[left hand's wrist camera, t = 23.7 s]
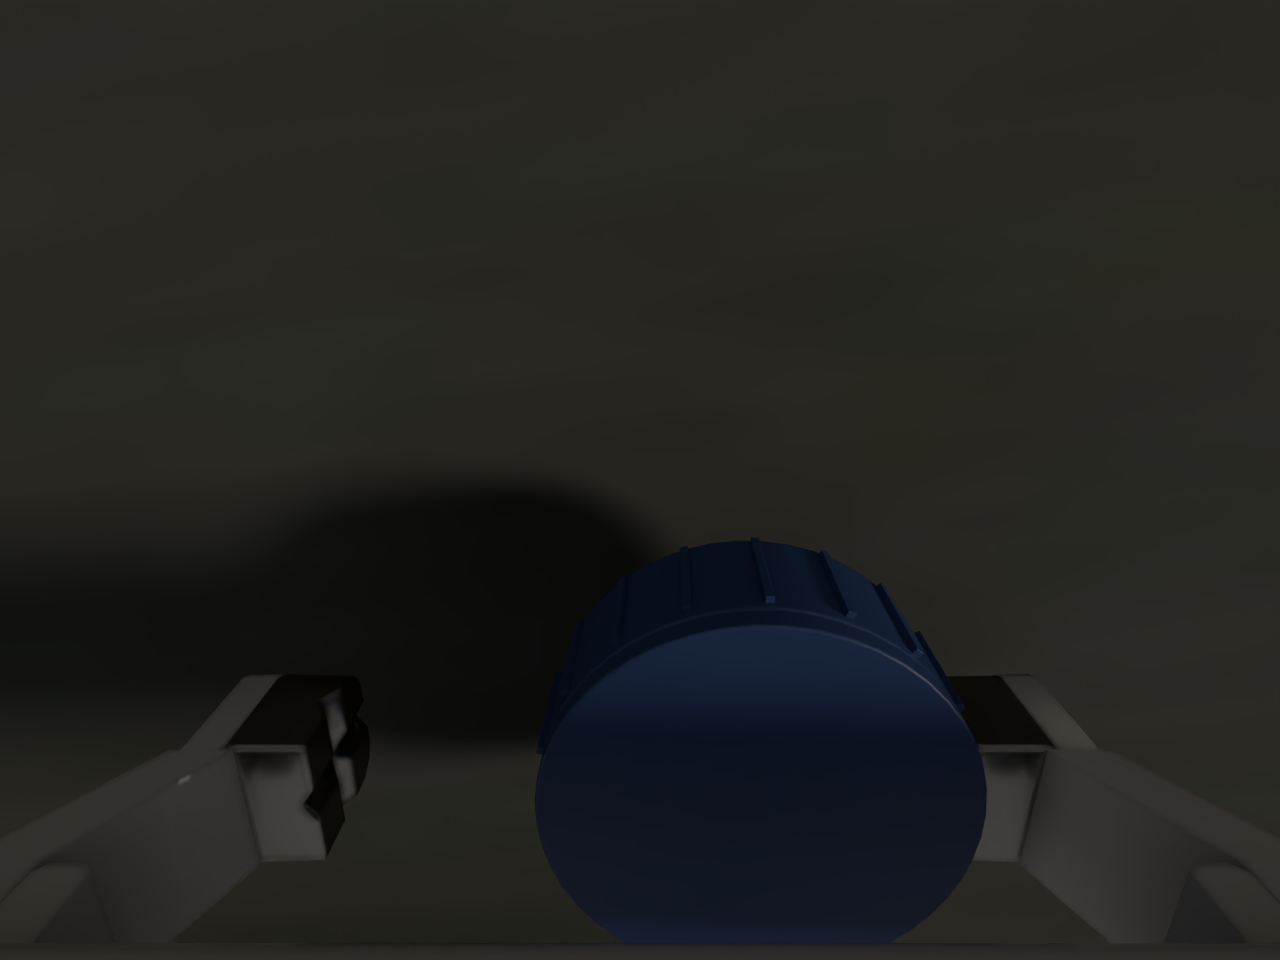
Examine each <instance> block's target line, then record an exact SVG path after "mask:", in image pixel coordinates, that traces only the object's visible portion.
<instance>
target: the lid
mask: <svg viewBox="0 0 1280 960" xmlns="http://www.w3.org/2000/svg"><path fill="white" fill-rule="evenodd" d="M963 710H965V707H964V705H963V703H962V701H961V699H960V698H959V696H958V694H957V693H956V691H955V689H954V688H953V686H952V684H951V683H950V681H949V679H948V678H947V676H946V674H945V673H944V671H943V669H942V668H941V666H940V664H939V663H938V661H937V659H936V657H935V656H934V654H933V652H932V651H931V649H930V647H929V646H928V644H927V642H926V641H925V639H924V637H923V636H922V634H921V632H920V631H918V632H915V633H914V632H913V630H912V629H911V627H910V625H909V623H908V622H907V620H906V619H905V617H904V616H903V615H902V613H901V612H900V611H899V609H898V608H897V607H896V605H895V603H894V601H893V600H892V598H891V596H890V594H889V593H888V591H887V589H886V587H885V586H883V585H882V584H881V583H880V584H879V585H877V586H876V585H875V584H873V583H872V582H871V581H869V580H868V579H867V578H865V577H864V576H863V575H861V574H860V573H858V572H857V571H855V570H853V569H851V568H850V567H848V566H846V565H844V564H842V563H841V562H839V561H837V560H834V559H832V558H831V557H830V555H829V553H828V552H825V551H823V550H821V552H820V554H819V553H817V552H814V551H811V550H807V549H803V548H799V547H795V546H791V545H787V544H780V543H772V542H764V541H759V538H751V541H731V542H721V543H712V544H707V545H702V546H698V547H694V548H689V549H688V547H687V546H685V547H681V548H680V552H677V553H674V554H671V555H669V556H666V557H663V558H661V559H659V560H657V561H655V562H653V563H651V564H649V565H647V566H645V567H643V568H641V569H639V570H638V571H636V572H635V573H633V574H632V575H630V576H629V577H626V576H625V575H623V576H622V577H620V578H619V580H618V584H617V585H616V586H615V587H614V588H613V589H612V590H611V591H610V592H608V593H607V594H606V595H605V596H604V597H603V598H602V599H601V600H600V601H599V602H598V603H597V605H596V606H595V607H594V608H593V609H592V611H591V612H590V613H589V614H588V615H587V617H586V618H585V620H584V621H582V620H580V619H579V620H578V622H577V623H576V625H575V630H574V634H573V638H572V643H571V646H570V648H569V650H568V652H567V656H566V659H565V663H564V667H563V671H562V673H560V672H556V675H555V679H554V683H553V687H552V691H551V695H550V699H549V703H548V707H547V711H546V715H545V719H544V723H543V727H542V731H541V735H540V739H539V743H538V747H537V754H542V759H541V763H540V767H539V772H538V776H537V783H536V794H535V809H536V823H537V827H538V831H539V836H540V840H541V844H542V847H543V850H544V852H545V854H546V857H547V859H548V862H549V864H550V867H551V869H552V870H553V872H554V873H555V875H556V877H557V878H558V880H559V882H560V883H561V885H562V887H563V888H564V889H565V891H566V892H567V893H568V894H569V895H570V897H571V898H572V899H573V900H574V902H575V903H576V904H577V905H578V906H579V907H580V908H581V909H582V910H583V911H584V912H585V913H586V914H587V915H588V916H589V917H590V918H592V919H593V920H594V921H595V922H596V923H597V924H599V925H600V926H602V927H603V928H604V929H606V930H607V931H608V932H610V933H611V934H612V935H614V936H615V937H617V938H619V939H621V940H622V941H624V942H626V943H891V942H893V941H894V940H896V939H897V938H899V937H901V936H902V935H904V934H906V933H907V932H909V931H910V930H912V929H913V928H914V927H916V926H917V925H918V924H919V923H921V922H922V921H923V920H925V919H926V918H927V917H928V916H930V915H931V914H932V913H933V912H934V911H935V910H936V909H937V908H938V907H939V906H940V905H941V904H942V903H943V902H944V901H945V900H946V899H947V898H948V896H949V895H950V894H951V892H952V891H953V890H954V888H955V887H956V886H957V885H958V883H959V882H960V881H961V879H962V878H963V876H964V874H965V872H966V871H967V869H968V867H969V865H970V864H971V862H972V860H973V858H974V855H975V853H976V850H977V847H978V845H979V842H980V840H981V837H982V832H983V827H984V822H985V817H986V803H987V786H986V778H985V771H984V765H983V762H982V759H981V756H980V753H979V749H978V746H977V743H976V741H975V739H974V737H973V735H972V733H971V731H970V729H969V727H968V726H967V724H966V722H965V720H964V718H963V716H962V715H961V713H960V711H963Z"/></svg>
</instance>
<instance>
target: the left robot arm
mask: <svg viewBox="0 0 1280 960" xmlns="http://www.w3.org/2000/svg"><path fill="white" fill-rule="evenodd" d="M947 678H948V679H949V681H950V683H951V684H952V686H953V688H954V689H955V691H956V693H957V694H958V696H959V698H960V699H961V701H962V703H963V705H964V707H965V710H963V711H960V713H961V715H962V716H963V718H964V720H965V722H966V724H967V726H968V727H969V729H970V731H971V733H972V735H973V737H974V739H975V741H976V743H977V746H978V749H979V753H980V756H981V759H982V762H983V765H984V771H985V778H986V786H987V803H986V817H985V822H984V827H983V832H982V837H981V840H980V842H979V845H978V847H977V850H976V853H975V855H974V858H973V860H975V861H1011V862H1020V866H1021V867H1023V868H1024V869H1025V870H1026V871H1027V872H1028V873H1030V874H1031V875H1032V876H1033V877H1034V878H1035V879H1037V880H1038V881H1039V882H1040V883H1041V884H1042V885H1043V886H1045V887H1046V888H1047V889H1048V890H1049V891H1050V892H1052V893H1053V894H1054V895H1055V896H1056V897H1057V898H1059V899H1060V900H1061V901H1062V902H1063V903H1064V904H1066V905H1067V906H1068V907H1069V908H1070V909H1071V910H1073V911H1074V912H1075V913H1076V914H1077V915H1078V916H1080V917H1081V918H1082V919H1083V920H1084V921H1085V922H1087V923H1088V924H1089V925H1090V926H1091V927H1092V928H1093V929H1095V930H1096V931H1097V932H1098V933H1099V934H1100V935H1102V936H1103V937H1104V938H1105V939H1106V940H1107V941H1109V942H1110V943H170V942H172V941H173V940H174V939H175V938H176V937H177V936H179V935H180V934H181V933H182V932H183V931H184V930H186V929H187V928H188V927H189V926H190V925H191V924H193V923H194V922H195V921H196V920H197V919H198V918H200V917H201V916H202V915H203V914H204V913H205V912H207V911H208V910H209V909H210V908H211V907H212V906H214V905H215V904H216V903H217V902H218V901H219V900H221V899H222V898H223V897H224V896H225V895H226V894H228V893H229V892H230V891H231V890H232V889H233V888H235V887H236V886H237V885H238V884H239V883H240V882H241V881H243V880H244V879H245V878H246V877H247V876H248V875H250V874H251V873H252V872H253V871H254V870H255V869H257V868H258V867H259V866H260V862H269V861H303V860H326V858H327V856H328V854H329V851H330V849H331V847H332V845H333V843H334V841H335V839H336V837H337V835H338V833H339V831H340V829H341V827H342V825H343V823H344V821H345V816H344V810H343V805H344V804H345V803H346V802H348V801H349V800H350V799H352V798H353V797H355V796H356V795H357V794H358V792H359V790H360V788H361V786H362V783H363V781H364V779H365V776H366V771H367V766H368V762H369V757H370V739H369V732H368V726H367V725H366V724H365V723H364V722H363V721H362V720H361V719H360V718H359V717H358V716H357V715H356V713H357V712H358V710H359V708H360V706H361V704H362V703H363V701H364V700H363V695H362V690H361V685H360V681H359V680H358V679H357V678H356V677H354V676H340V675H293V674H287V675H282V674H252V675H249V676H246V677H243V678H242V679H241V681H240V682H239V683H238V684H237V685H236V686H235V687H234V689H233V690H232V691H231V692H230V693H229V694H228V696H227V697H226V698H225V699H224V700H223V701H222V703H221V704H220V705H219V706H218V707H217V708H216V709H215V711H214V712H213V713H212V714H211V715H210V716H209V718H208V719H207V720H206V721H205V722H204V723H203V725H202V726H201V727H200V728H199V729H198V730H197V731H196V733H195V734H194V735H193V736H192V737H191V738H190V740H189V741H188V742H187V743H186V744H185V745H184V747H183V748H182V749H181V750H168V751H166V752H164V753H162V754H160V755H158V756H156V757H154V758H152V759H151V760H149V761H147V762H145V763H143V764H141V765H139V766H137V767H135V768H133V769H131V770H129V771H127V772H125V773H124V774H122V775H120V776H118V777H116V778H114V779H112V780H110V781H108V782H106V783H104V784H102V785H100V786H98V787H97V788H95V789H93V790H91V791H89V792H87V793H85V794H83V795H81V796H79V797H77V798H75V799H73V800H71V801H70V802H68V803H66V804H64V805H62V806H60V807H58V808H56V809H54V810H52V811H50V812H48V813H46V814H44V815H42V816H41V817H39V818H37V819H35V820H33V821H31V822H29V823H27V824H25V825H23V826H21V827H19V828H17V829H15V830H14V831H12V832H10V833H8V834H6V835H4V836H2V837H0V960H1280V838H1279V837H1278V836H1276V835H1274V834H1272V833H1270V832H1268V831H1266V830H1264V829H1262V828H1260V827H1258V826H1256V825H1254V824H1253V823H1251V822H1249V821H1247V820H1245V819H1243V818H1241V817H1239V816H1237V815H1235V814H1233V813H1231V812H1229V811H1228V810H1226V809H1224V808H1222V807H1220V806H1218V805H1216V804H1214V803H1212V802H1210V801H1208V800H1206V799H1204V798H1203V797H1201V796H1199V795H1197V794H1195V793H1193V792H1191V791H1189V790H1187V789H1185V788H1183V787H1181V786H1179V785H1178V784H1176V783H1174V782H1172V781H1170V780H1168V779H1166V778H1164V777H1162V776H1160V775H1158V774H1156V773H1154V772H1153V771H1151V770H1149V769H1147V768H1145V767H1143V766H1141V765H1139V764H1137V763H1135V762H1133V761H1131V760H1129V759H1128V758H1126V757H1124V756H1122V755H1120V754H1118V753H1116V752H1114V751H1112V750H1099V749H1098V748H1097V747H1096V745H1095V744H1094V743H1093V742H1092V741H1091V740H1090V738H1089V737H1088V736H1087V735H1086V734H1085V733H1084V731H1083V730H1082V729H1081V728H1080V727H1079V726H1078V725H1077V723H1076V722H1075V721H1074V720H1073V719H1072V718H1071V716H1070V715H1069V714H1068V713H1067V712H1066V711H1065V710H1064V708H1063V707H1062V706H1061V705H1060V704H1059V703H1058V701H1057V700H1056V699H1055V698H1054V697H1053V696H1052V694H1051V693H1050V692H1049V691H1048V690H1047V689H1046V688H1045V686H1044V685H1043V684H1042V683H1041V682H1040V681H1039V679H1038V678H1036V677H1034V676H1032V675H1030V674H1006V675H993V676H947Z"/></svg>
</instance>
